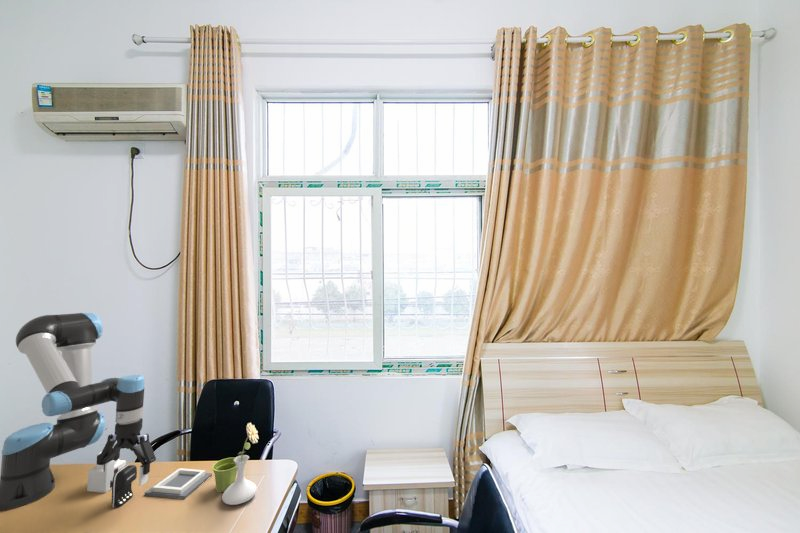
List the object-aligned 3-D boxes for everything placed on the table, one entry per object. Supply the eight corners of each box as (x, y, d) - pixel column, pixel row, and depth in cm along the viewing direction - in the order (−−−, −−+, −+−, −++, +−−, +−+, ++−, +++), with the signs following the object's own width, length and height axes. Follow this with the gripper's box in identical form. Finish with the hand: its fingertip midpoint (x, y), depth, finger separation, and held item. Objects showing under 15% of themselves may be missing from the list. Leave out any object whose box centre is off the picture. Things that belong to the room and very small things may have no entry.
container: (125, 480, 124) (127, 446, 125) (105, 493, 117) (107, 456, 118) (107, 479, 125) (109, 445, 126) (86, 491, 117) (88, 455, 118)
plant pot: (205, 492, 118) (206, 468, 118) (225, 478, 127) (226, 455, 127) (224, 497, 115) (226, 472, 116) (244, 482, 124) (245, 459, 125)
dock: (144, 495, 116) (144, 488, 116) (175, 472, 130) (175, 466, 130) (184, 499, 114) (185, 491, 114) (211, 476, 128) (212, 469, 128)
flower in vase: (242, 511, 109) (245, 435, 110) (214, 506, 111) (217, 432, 112) (266, 487, 121) (268, 420, 123) (239, 483, 124) (242, 417, 125)
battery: (121, 508, 109) (123, 473, 110) (109, 508, 109) (112, 474, 110) (137, 495, 116) (139, 462, 117) (126, 495, 116) (128, 462, 116)
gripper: (87, 423, 112) (83, 486, 110) (151, 426, 109) (148, 491, 108) (108, 414, 119) (105, 474, 118) (169, 417, 116) (166, 478, 115)
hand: (125, 482), depth 113 cm, fingers open, 13 cm apart
